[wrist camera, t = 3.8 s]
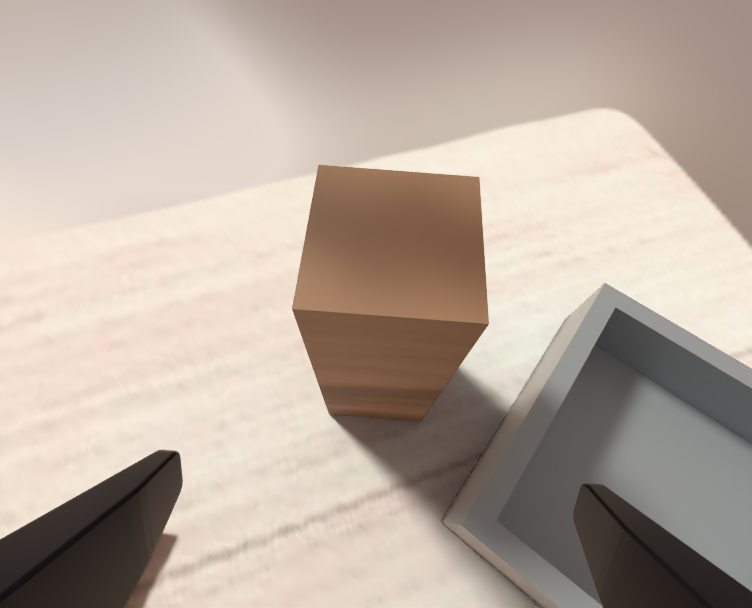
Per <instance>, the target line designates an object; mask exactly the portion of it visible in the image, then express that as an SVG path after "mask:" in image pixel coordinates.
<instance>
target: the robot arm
mask: <svg viewBox="0 0 752 608" xmlns="http://www.w3.org/2000/svg"><path fill="white" fill-rule="evenodd" d="M182 483H183V479H182V469H181V459H180V454H179V453H178V452H177V451H171V450H158V451H156V452H154V453H153V454H151V455H149V456H147V457H145V458H144V459H142V460H140V461H138V462H137V463H135V464H133V465H131V466H129V467H128V468H126V469H124V470H122V471H121V472H119V473H117V474H115V475H114V476H112V477H110V478H108V479H106V480H105V481H103V482H101V483H99V484H98V485H96V486H94V487H92V488H91V489H89V490H87V491H85V492H83V493H82V494H80V495H78V496H76V497H75V498H73V499H71V500H69V501H67V502H66V503H64V504H62V505H60V506H59V507H57V508H55V509H53V510H52V511H50V512H48V513H46V514H44V515H43V516H41V517H39V518H37V519H36V520H34V521H32V522H30V523H28V524H27V525H25V526H23V527H21V528H20V529H18V530H16V531H14V532H12V533H11V534H9V535H7V536H5V537H4V538H2V539H0V608H124V607H125V605H126V603H127V602H128V600H129V598H130V596H131V594H132V593H133V591H134V589H135V587H136V585H137V584H138V582H139V580H140V578H141V576H142V575H143V573H144V571H145V569H146V567H147V565H148V563H149V561H150V559H151V557H152V555H153V553H154V551H155V549H156V546H157V544H158V542H159V540H160V537H161V535H162V533H163V530H164V528H165V526H166V524H167V521H168V519H169V517H170V515H171V512H172V510H173V508H174V505H175V503H176V501H177V499H178V496H179V494H180V492H181V488H182ZM573 519H574V524H575V527H576V530H577V533H578V536H579V539H580V542H581V545H582V549H583V552H584V555H585V558H586V561H587V564H588V567H589V570H590V573H591V576H592V579H593V582H594V585H595V588H596V591H597V594H598V597H599V599H600V602H601V604H602V607H603V608H752V591H750V590H749V589H748V588H746V587H745V586H744V585H742V584H741V583H739V582H738V581H737V580H735V579H734V578H732V577H731V576H730V575H728V574H727V573H725V572H724V571H723V570H721V569H720V568H719V567H717V566H716V565H714V564H713V563H712V562H710V561H709V560H707V559H706V558H705V557H703V556H702V555H700V554H699V553H698V552H696V551H695V550H693V549H692V548H691V547H689V546H688V545H687V544H685V543H684V542H682V541H681V540H680V539H678V538H677V537H675V536H674V535H673V534H671V533H670V532H668V531H667V530H666V529H664V528H663V527H662V526H660V525H659V524H657V523H656V522H655V521H653V520H652V519H650V518H649V517H648V516H646V515H645V514H643V513H642V512H641V511H639V510H638V509H636V508H635V507H634V506H632V505H631V504H630V503H628V502H627V501H625V500H624V499H623V498H621V497H620V496H618V495H617V494H616V493H614V492H613V491H611V490H610V489H609V488H607V487H606V486H604V485H602V484H595V483H584V484H582V485H581V487H580V490H579V494H578V497H577V500H576V504H575V507H574V511H573Z"/></svg>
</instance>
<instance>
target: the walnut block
mask: <svg viewBox="0 0 752 608" xmlns="http://www.w3.org/2000/svg"><path fill="white" fill-rule="evenodd" d="M292 310H293V313H294V316H295V318H296V321H297V324H298V327H299V330H300V333H301V335H302V338H303V341H304V344H305V347H306V350H307V353H308V355H309V358H310V361H311V364H312V367H313V370H314V372H315V375H316V378H317V381H318V384H319V387H320V389H321V392H322V395H323V398H324V401H325V404H326V407H327V409H328V412H329V414H333V415H346V416H359V417H372V418H385V419H398V420H411V421H421V420H422V419H423V417H424V416H425V414H426V413H427V412H428V410H429V409H430V407H431V406H432V404H433V403H434V402H435V400H436V399H437V397H438V396H439V394H440V393H441V392H442V390H443V389H444V387H445V386H446V384H447V383H448V382H449V380H450V379H451V377H452V376H453V374H454V373H455V372H456V370H457V369H458V367H459V366H460V364H461V363H462V362H463V360H464V359H465V357H466V356H467V354H468V353H469V352H470V350H471V349H472V347H473V346H474V344H475V343H476V342H477V340H478V339H479V337H480V336H481V334H482V333H483V332H484V330H485V329H486V327H487V326H488V324H489V319H488V304H487V289H486V273H485V258H484V243H483V228H482V212H481V197H480V182H479V177H471V176H458V175H445V174H431V173H418V172H405V171H392V170H379V169H365V168H352V167H339V166H326V165H319V166H318V171H317V177H316V182H315V187H314V193H313V198H312V204H311V209H310V215H309V220H308V225H307V231H306V236H305V242H304V247H303V253H302V258H301V263H300V269H299V274H298V280H297V285H296V291H295V296H294V301H293V307H292Z"/></svg>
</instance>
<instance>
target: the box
mask: <svg viewBox="0 0 752 608" xmlns="http://www.w3.org/2000/svg"><path fill="white" fill-rule="evenodd" d="M584 483H595V484H602V485H604V486H606V487H607V488H609V489H610V490H611V491H613V492H614V493H616V494H617V495H618V496H620V497H621V498H623V499H624V500H625V501H627V502H628V503H630V504H631V505H632V506H634V507H635V508H636V509H638V510H639V511H641V512H642V513H643V514H645V515H646V516H648V517H649V518H650V519H652V520H653V521H655V522H656V523H657V524H659V525H660V526H662V527H663V528H664V529H666V530H667V531H668V532H670V533H671V534H673V535H674V536H675V537H677V538H678V539H680V540H681V541H682V542H684V543H685V544H687V545H688V546H689V547H691V548H692V549H693V550H695V551H696V552H698V553H699V554H700V555H702V556H703V557H705V558H706V559H707V560H709V561H710V562H712V563H713V564H714V565H716V566H717V567H719V568H720V569H721V570H723V571H724V572H725V573H727V574H728V575H730V576H731V577H732V578H734V579H735V580H737V581H738V582H739V583H741V584H742V585H744V586H745V587H746V588H748V589H749V590H750V591H752V369H751V368H750V367H748V366H746V365H744V364H743V363H741V362H739V361H738V360H736V359H734V358H732V357H731V356H729V355H727V354H726V353H724V352H722V351H720V350H719V349H717V348H715V347H714V346H712V345H710V344H708V343H707V342H705V341H703V340H702V339H700V338H698V337H697V336H695V335H693V334H691V333H690V332H688V331H686V330H685V329H683V328H681V327H679V326H678V325H676V324H674V323H673V322H671V321H669V320H667V319H666V318H664V317H662V316H661V315H659V314H657V313H655V312H654V311H652V310H650V309H649V308H647V307H645V306H644V305H642V304H640V303H638V302H637V301H635V300H633V299H632V298H630V297H628V296H626V295H625V294H623V293H621V292H620V291H618V290H616V289H614V288H613V287H611V286H609V285H608V284H606V283H604V284H603V285H602V286H601V287H600V288H599V289H598V290H597V291H596V292H595V293H593V294H592V295H591V296H590V297H589V298H588V299H587V300H586V301H585V302H584V303H583V304H581V305H580V306H579V307H578V308H577V309H576V310H575V311H574V312H573V313H572V314H571V315H569V316H568V317H567V318H566V319H565V321H564V322H563V324H562V326H561V327H560V329H559V330H558V332H557V334H556V335H555V337H554V339H553V340H552V342H551V343H550V345H549V347H548V348H547V350H546V352H545V353H544V355H543V356H542V358H541V360H540V361H539V363H538V365H537V366H536V368H535V369H534V371H533V373H532V374H531V376H530V378H529V379H528V381H527V382H526V384H525V386H524V387H523V389H522V391H521V392H520V394H519V395H518V397H517V399H516V400H515V402H514V404H513V405H512V407H511V408H510V410H509V412H508V413H507V415H506V416H505V418H504V420H503V421H502V423H501V425H500V426H499V428H498V429H497V431H496V433H495V434H494V436H493V438H492V439H491V441H490V442H489V444H488V446H487V447H486V449H485V451H484V452H483V454H482V455H481V457H480V459H479V460H478V462H477V464H476V465H475V467H474V468H473V470H472V472H471V473H470V475H469V477H468V478H467V480H466V481H465V483H464V485H463V486H462V488H461V490H460V491H459V493H458V494H457V496H456V498H455V499H454V501H453V503H452V504H451V506H450V507H449V509H448V511H447V512H446V514H445V516H444V517H443V519H442V520H441V522H442V523H443V524H444V525H445V526H447V527H448V528H449V529H450V530H451V531H453V532H454V533H455V534H456V535H457V536H459V537H460V538H461V539H462V540H463V541H464V542H466V543H467V544H468V545H469V546H470V547H472V548H473V549H474V550H475V551H476V552H478V553H479V554H480V555H481V556H482V557H483V558H485V559H486V560H487V561H488V562H489V563H491V564H492V565H493V566H494V567H495V568H496V569H498V570H499V571H500V572H501V573H502V574H504V575H505V576H506V577H507V578H508V579H510V580H511V581H512V582H513V583H514V584H515V585H517V586H518V587H519V588H520V589H521V590H523V591H524V592H525V593H526V594H527V595H528V596H530V597H531V598H532V599H533V600H534V601H536V602H537V603H538V604H539V605H540V606H542V607H543V608H603V607H602V604H601V602H600V599H599V597H598V594H597V591H596V588H595V585H594V582H593V579H592V576H591V573H590V570H589V567H588V564H587V561H586V558H585V555H584V552H583V549H582V545H581V542H580V539H579V536H578V533H577V530H576V527H575V524H574V519H573V511H574V507H575V504H576V500H577V497H578V494H579V490H580V487H581V485H582V484H584Z"/></svg>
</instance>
